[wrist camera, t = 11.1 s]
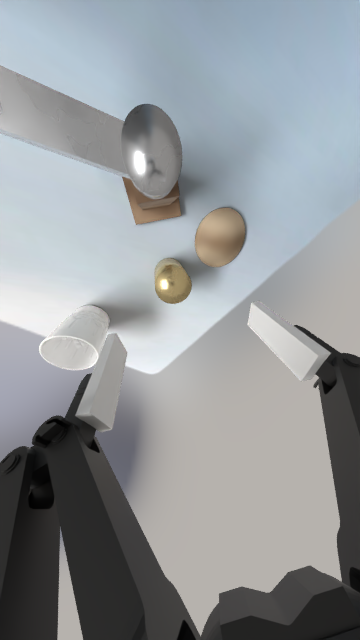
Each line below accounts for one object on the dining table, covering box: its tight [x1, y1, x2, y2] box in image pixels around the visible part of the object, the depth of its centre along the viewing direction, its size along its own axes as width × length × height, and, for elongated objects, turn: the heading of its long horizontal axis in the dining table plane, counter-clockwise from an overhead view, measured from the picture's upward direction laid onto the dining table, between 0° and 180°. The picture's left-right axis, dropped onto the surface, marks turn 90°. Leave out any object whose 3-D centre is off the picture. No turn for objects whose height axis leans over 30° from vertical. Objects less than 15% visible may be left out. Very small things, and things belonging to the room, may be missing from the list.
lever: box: [0, 66, 182, 199], centre depth 9 cm, size 16×4×2 cm, turn 76°
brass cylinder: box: [155, 258, 192, 304], centre depth 24 cm, size 6×6×7 cm
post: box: [122, 177, 181, 225], centre depth 16 cm, size 7×7×10 cm
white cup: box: [39, 305, 110, 370], centre depth 26 cm, size 8×8×10 cm
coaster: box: [195, 208, 245, 267], centre depth 25 cm, size 9×9×1 cm
